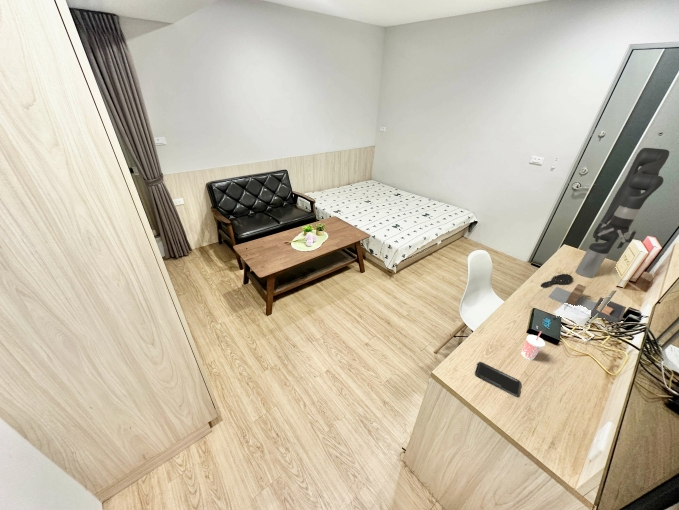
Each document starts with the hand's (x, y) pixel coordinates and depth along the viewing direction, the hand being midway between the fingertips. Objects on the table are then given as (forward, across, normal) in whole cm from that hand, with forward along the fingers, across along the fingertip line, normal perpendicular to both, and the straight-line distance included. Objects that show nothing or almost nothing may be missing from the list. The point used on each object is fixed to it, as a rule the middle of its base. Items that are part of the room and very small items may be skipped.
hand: (606, 244), depth 136 cm
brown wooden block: (+28, 0, +16) cm, 32 cm away
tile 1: (+30, -13, +13) cm, 35 cm away
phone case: (+31, -6, +41) cm, 52 cm away
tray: (+30, -14, +16) cm, 37 cm away
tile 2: (+29, -12, +20) cm, 37 cm away
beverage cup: (+30, +1, +76) cm, 82 cm away
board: (+30, 0, +16) cm, 34 cm away
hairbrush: (+31, +11, +2) cm, 33 cm away
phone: (+31, +4, +98) cm, 103 cm away
